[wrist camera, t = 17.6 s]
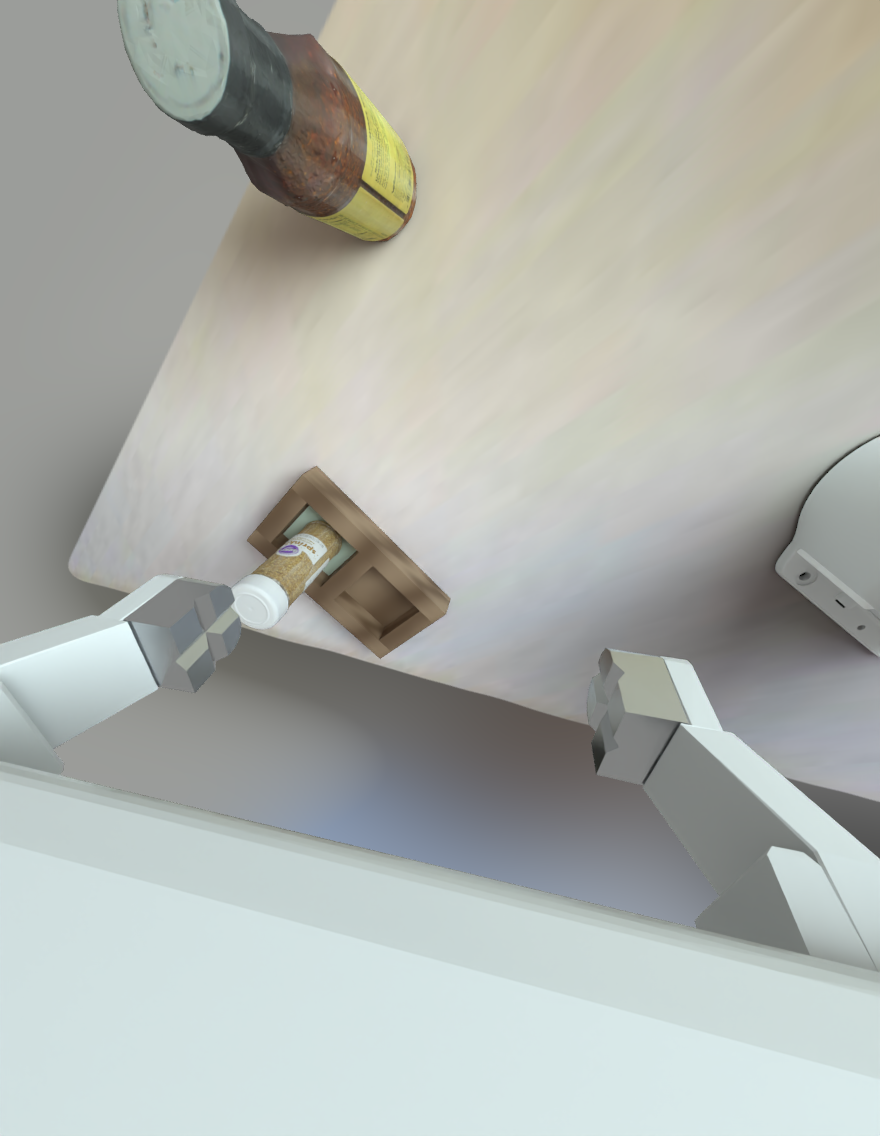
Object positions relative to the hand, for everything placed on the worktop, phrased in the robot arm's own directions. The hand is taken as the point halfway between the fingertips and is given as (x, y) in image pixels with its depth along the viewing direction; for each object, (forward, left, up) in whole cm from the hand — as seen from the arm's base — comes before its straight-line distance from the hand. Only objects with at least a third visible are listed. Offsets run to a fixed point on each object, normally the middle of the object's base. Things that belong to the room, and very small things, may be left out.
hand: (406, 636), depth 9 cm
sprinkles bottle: (+3, +23, -31) cm, 38 cm away
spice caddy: (-2, +23, -31) cm, 38 cm away
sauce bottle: (+17, -3, -31) cm, 36 cm away
